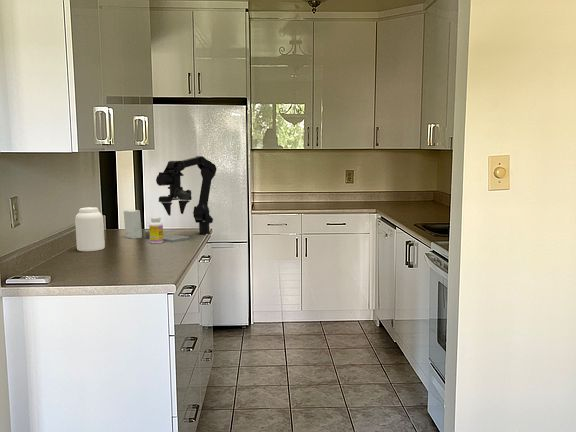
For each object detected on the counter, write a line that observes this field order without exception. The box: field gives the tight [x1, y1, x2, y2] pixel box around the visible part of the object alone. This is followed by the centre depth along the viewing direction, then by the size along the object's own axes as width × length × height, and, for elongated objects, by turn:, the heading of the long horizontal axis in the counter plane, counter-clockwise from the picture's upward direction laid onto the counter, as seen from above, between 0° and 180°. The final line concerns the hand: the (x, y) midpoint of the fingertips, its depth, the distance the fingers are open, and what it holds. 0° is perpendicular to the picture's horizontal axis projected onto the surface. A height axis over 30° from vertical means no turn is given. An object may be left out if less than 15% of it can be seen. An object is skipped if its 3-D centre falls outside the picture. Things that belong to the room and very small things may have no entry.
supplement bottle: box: [148, 216, 164, 245], centre depth 273 cm, size 7×7×13 cm
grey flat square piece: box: [163, 234, 191, 243], centre depth 282 cm, size 12×12×1 cm
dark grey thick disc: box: [144, 231, 150, 240], centre depth 288 cm, size 8×8×3 cm
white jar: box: [74, 206, 106, 253], centre depth 256 cm, size 12×12×20 cm
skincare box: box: [123, 209, 143, 240], centre depth 289 cm, size 8×6×15 cm
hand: (175, 214), depth 282 cm, fingers open, 9 cm apart
